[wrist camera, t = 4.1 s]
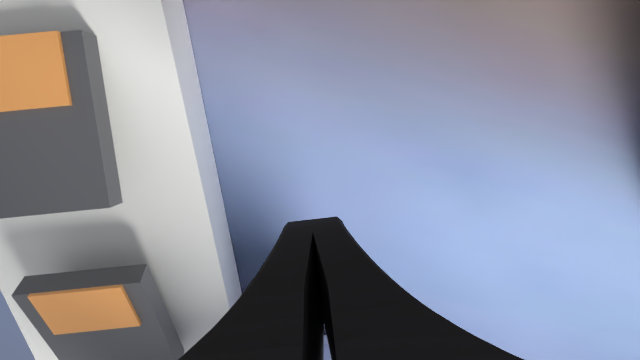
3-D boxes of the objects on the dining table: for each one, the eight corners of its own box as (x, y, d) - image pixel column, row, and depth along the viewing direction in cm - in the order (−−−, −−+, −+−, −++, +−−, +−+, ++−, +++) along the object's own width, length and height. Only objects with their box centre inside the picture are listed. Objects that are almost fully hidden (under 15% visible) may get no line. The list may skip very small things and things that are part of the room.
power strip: (256, 363, 26) (251, 407, 23) (93, 380, 26) (69, 427, 23) (109, -362, 13) (59, -457, 10) (-219, -336, 13) (-361, -427, 10)
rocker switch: (184, 350, 20) (179, 372, 20) (82, 360, 20) (72, 383, 19) (147, 264, 17) (138, 285, 16) (24, 276, 17) (8, 298, 16)
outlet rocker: (122, 202, 15) (108, 208, 14) (-13, 216, 15) (-39, 223, 14) (96, 36, 15) (78, 28, 14) (-46, 49, 15) (-77, 42, 14)
